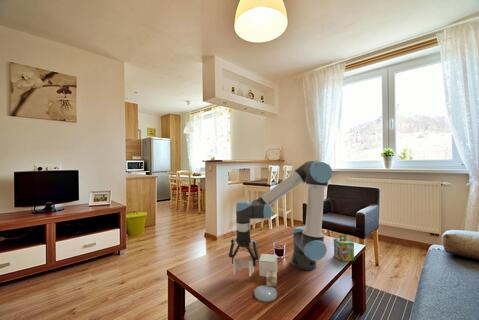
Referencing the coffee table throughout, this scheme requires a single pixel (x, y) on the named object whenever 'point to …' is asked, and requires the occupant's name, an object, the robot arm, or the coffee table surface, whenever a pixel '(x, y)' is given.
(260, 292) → the dish
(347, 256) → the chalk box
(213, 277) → the coffee table surface
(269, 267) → the pale green cube
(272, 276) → the block
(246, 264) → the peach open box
